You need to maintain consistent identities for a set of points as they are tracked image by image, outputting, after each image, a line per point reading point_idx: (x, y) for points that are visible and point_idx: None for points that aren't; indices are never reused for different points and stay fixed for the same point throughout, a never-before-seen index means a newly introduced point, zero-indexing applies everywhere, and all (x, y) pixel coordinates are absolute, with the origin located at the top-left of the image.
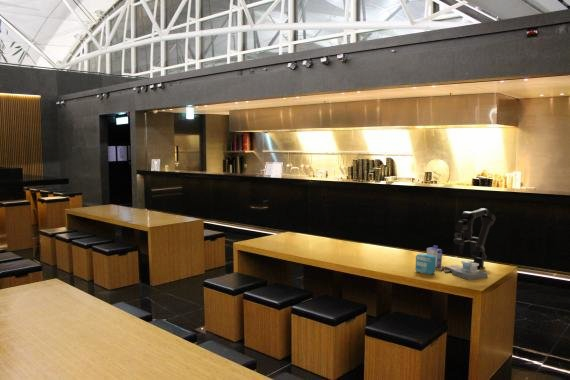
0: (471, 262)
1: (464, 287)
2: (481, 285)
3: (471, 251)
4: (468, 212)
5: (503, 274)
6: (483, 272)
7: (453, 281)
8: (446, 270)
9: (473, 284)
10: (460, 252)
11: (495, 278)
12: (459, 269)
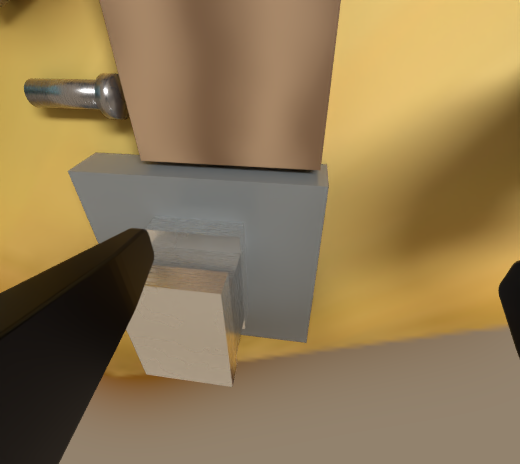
0: (187, 348)
1: None
2: None
3: (516, 294)
4: None
5: (493, 326)
6: (286, 327)
7: (37, 273)
8: (40, 97)
9: (126, 338)
10: (117, 242)
11: (334, 341)
12: (149, 197)
